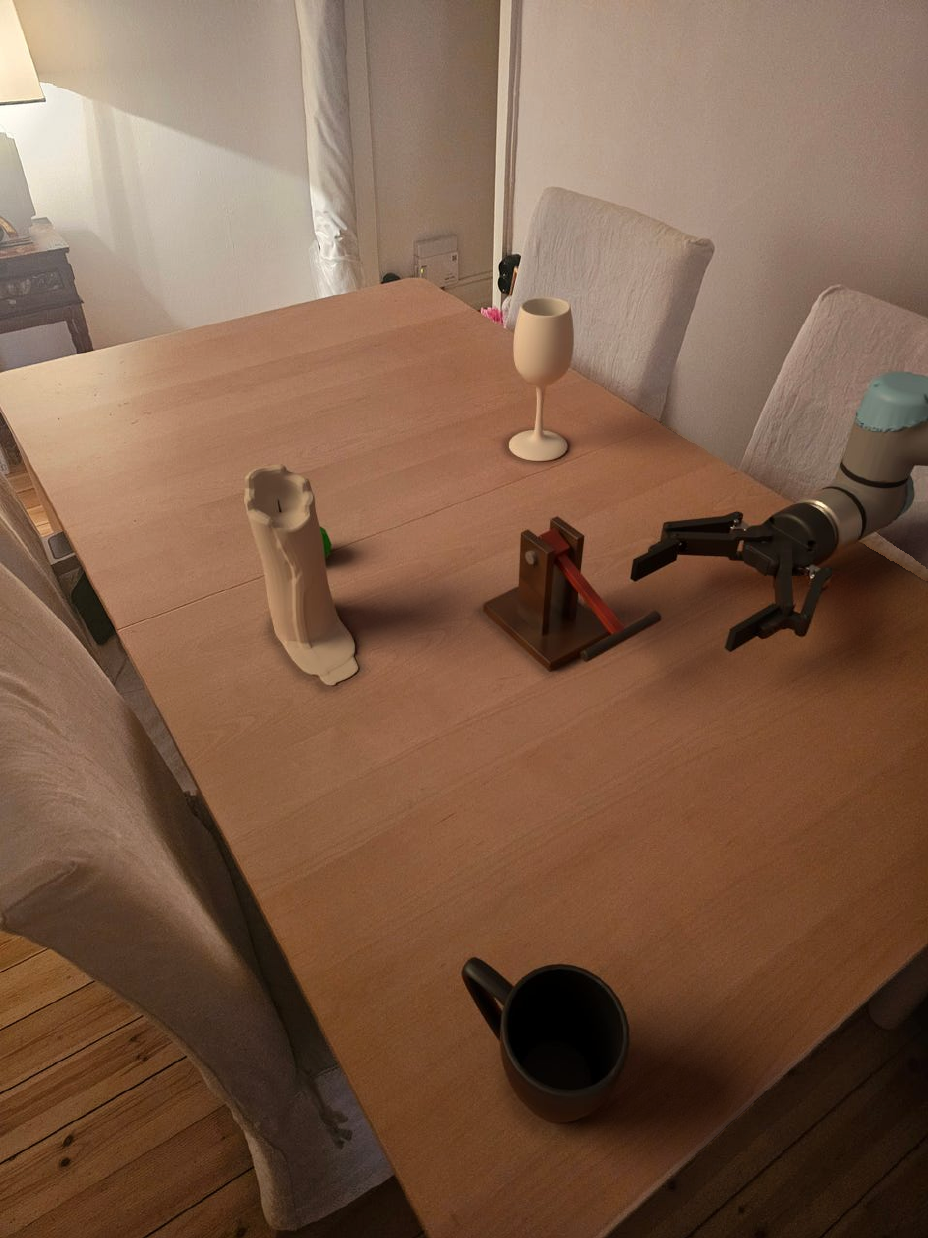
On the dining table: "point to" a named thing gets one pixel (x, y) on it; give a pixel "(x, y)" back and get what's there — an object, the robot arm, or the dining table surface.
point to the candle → (297, 573)
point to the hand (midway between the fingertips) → (679, 604)
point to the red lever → (595, 601)
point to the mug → (554, 1035)
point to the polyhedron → (325, 542)
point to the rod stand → (547, 602)
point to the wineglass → (542, 367)
